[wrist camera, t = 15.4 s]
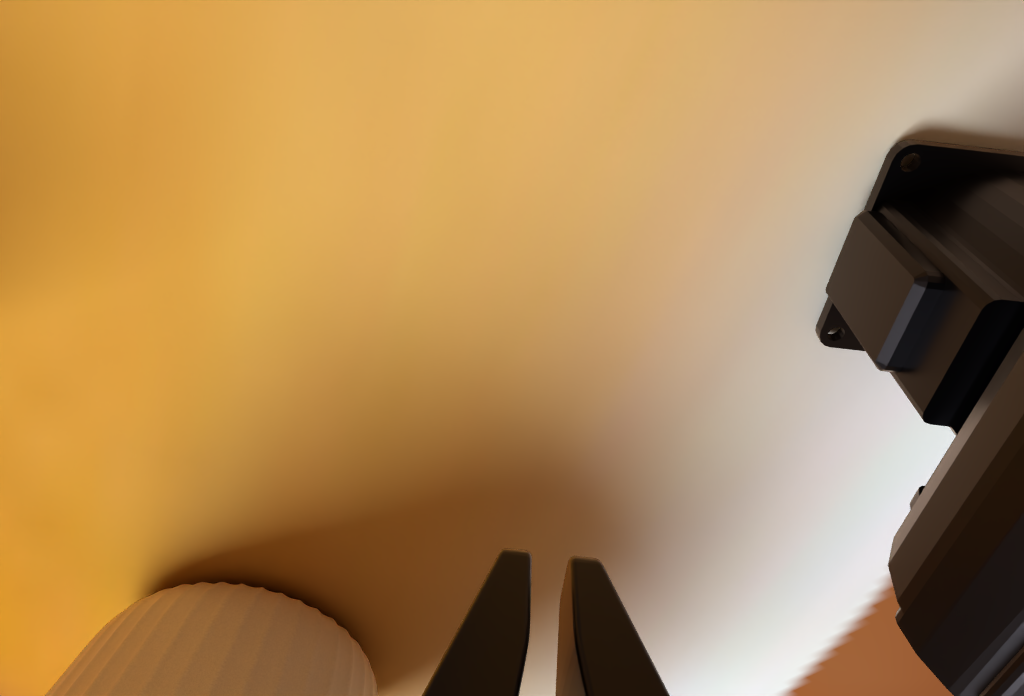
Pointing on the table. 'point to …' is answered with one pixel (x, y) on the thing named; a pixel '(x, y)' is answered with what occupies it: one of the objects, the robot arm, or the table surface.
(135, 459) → the table surface
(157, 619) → the canister
